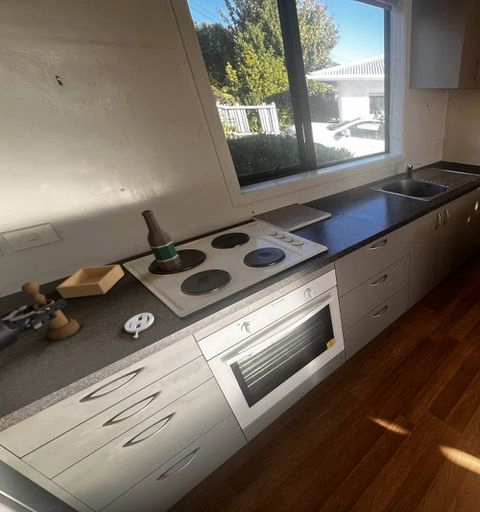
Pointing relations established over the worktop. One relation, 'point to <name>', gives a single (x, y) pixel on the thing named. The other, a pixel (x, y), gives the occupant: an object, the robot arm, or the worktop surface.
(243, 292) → the worktop surface
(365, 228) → the worktop surface
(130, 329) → the pendant
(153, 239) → the beer bottle
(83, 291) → the wooden tray
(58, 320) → the mortar and pestle
